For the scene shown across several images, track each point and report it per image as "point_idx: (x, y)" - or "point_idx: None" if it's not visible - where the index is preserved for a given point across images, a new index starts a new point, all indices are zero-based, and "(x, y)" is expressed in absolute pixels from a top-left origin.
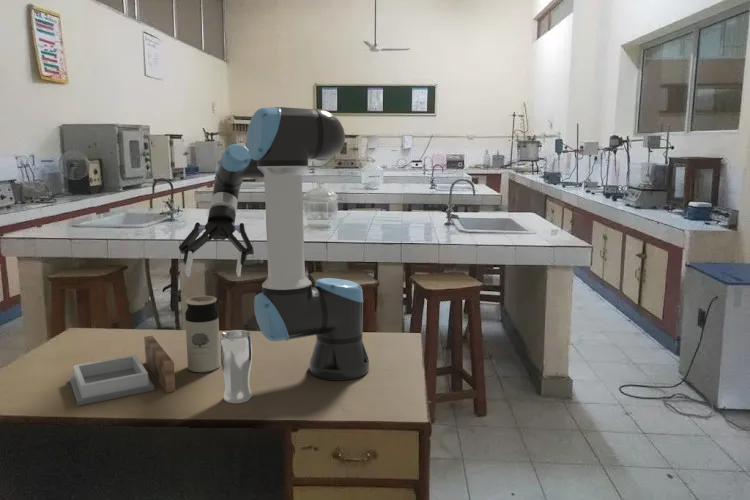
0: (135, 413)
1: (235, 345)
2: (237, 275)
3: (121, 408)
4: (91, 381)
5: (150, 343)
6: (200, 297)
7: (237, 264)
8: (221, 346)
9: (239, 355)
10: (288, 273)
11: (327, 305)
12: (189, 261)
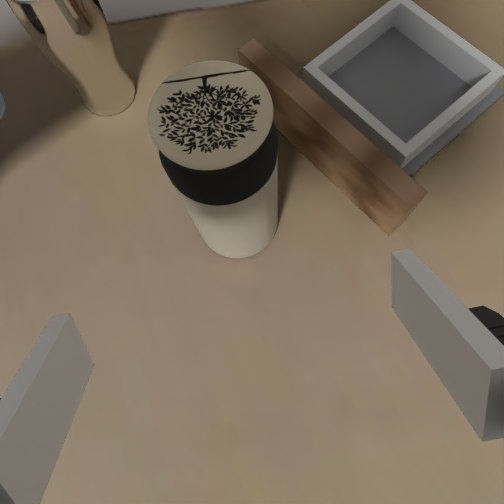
0: (269, 12)
1: None
2: (86, 353)
3: (305, 21)
4: (436, 81)
5: (372, 146)
6: (224, 133)
7: (44, 353)
8: None
9: None
10: None
11: None
12: (428, 298)
